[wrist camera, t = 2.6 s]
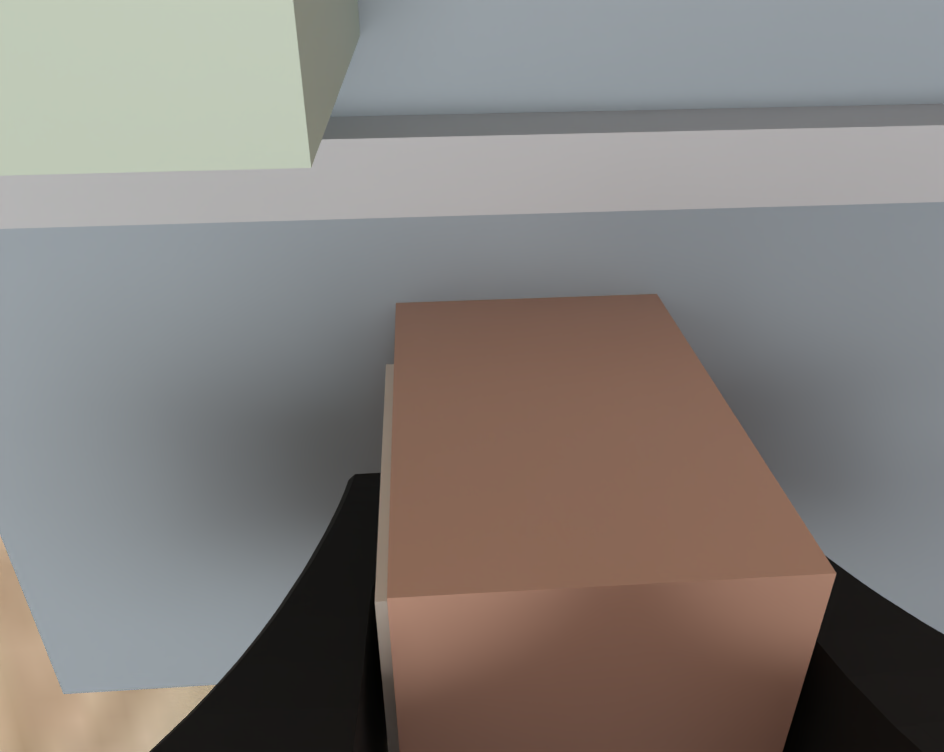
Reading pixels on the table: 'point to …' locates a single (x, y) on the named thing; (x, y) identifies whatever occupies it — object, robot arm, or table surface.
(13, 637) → the table surface
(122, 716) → the table surface
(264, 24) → the sage carton
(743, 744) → the terracotta carton
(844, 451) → the shelf board
